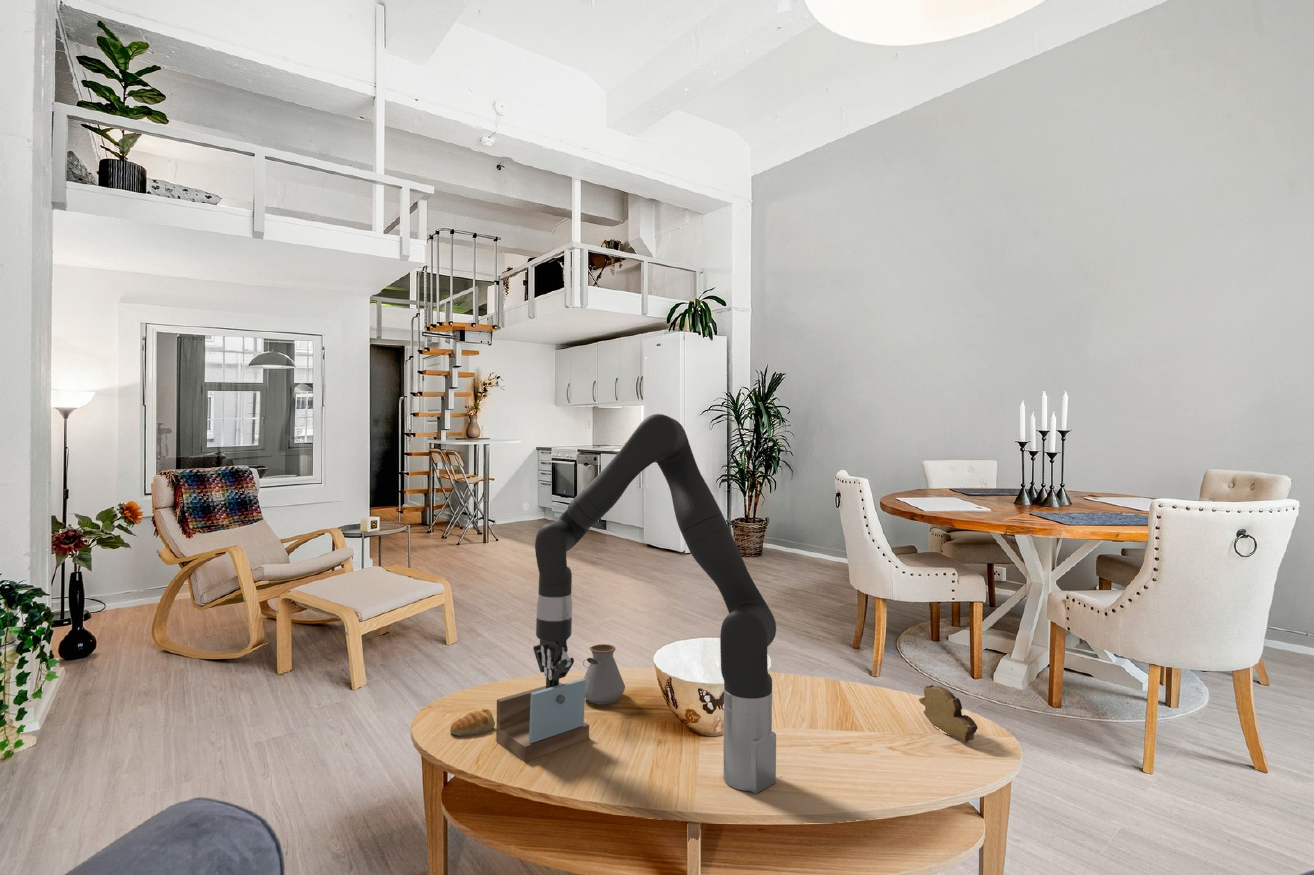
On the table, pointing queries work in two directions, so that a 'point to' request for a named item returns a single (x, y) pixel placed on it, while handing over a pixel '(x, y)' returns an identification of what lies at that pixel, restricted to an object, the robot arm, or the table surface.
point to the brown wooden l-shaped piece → (516, 729)
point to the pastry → (473, 723)
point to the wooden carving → (947, 713)
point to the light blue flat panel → (556, 710)
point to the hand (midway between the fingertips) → (551, 695)
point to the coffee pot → (603, 676)
